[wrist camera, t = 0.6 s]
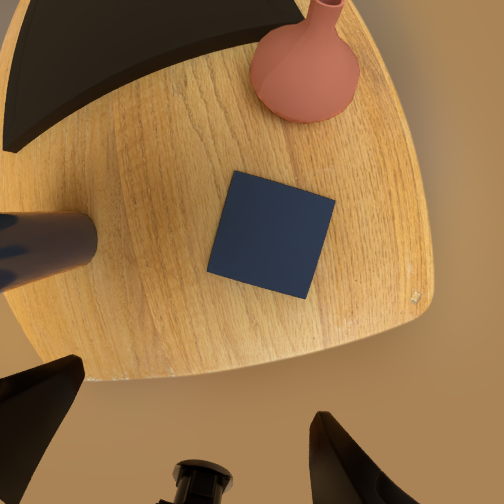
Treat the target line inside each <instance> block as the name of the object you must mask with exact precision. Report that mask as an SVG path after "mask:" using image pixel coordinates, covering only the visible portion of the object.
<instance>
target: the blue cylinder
mask: <svg viewBox="0 0 504 504" xmlns="http://www.w3.org/2000/svg"><path fill="white" fill-rule="evenodd" d="M96 248H97V233H96V229H95V226H94V224H93V222H92V221H91V219H90V218H89V217H88V216H87V215H86V214H84V213H82V212H79V211H33V212H0V293H3V292H6V291H9V290H12V289H15V288H18V287H20V286H23V285H26V284H29V283H32V282H35V281H38V280H42V279H45V278H48V277H51V276H54V275H57V274H60V273H63V272H67V271H70V270H73V269H76V268H79V267H83V266H85V265H87V264H88V263H89V262H90V261H91V260H92V258H93V256H94V254H95V252H96Z"/></svg>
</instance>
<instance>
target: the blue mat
mask: <svg viewBox="0 0 504 504" xmlns="http://www.w3.org/2000/svg"><path fill="white" fill-rule="evenodd" d="M334 205H335V200H332V199H329V198H326V197H323V196H320V195H317V194H314V193H311V192H307V191H304V190H301V189H298V188H295V187H291V186H288V185H285V184H281V183H278V182H274V181H271V180H268V179H264V178H260V177H257V176H253V175H250V174H246V173H242V172H238V171H234V174H233V178H232V181H231V184H230V188H229V191H228V195H227V198H226V202H225V205H224V209H223V212H222V216H221V219H220V223H219V227H218V230H217V234H216V238H215V241H214V245H213V249H212V253H211V256H210V260H209V264H208V268H207V272H209V273H213V274H216V275H220V276H223V277H226V278H230V279H233V280H237V281H240V282H244V283H247V284H251V285H254V286H258V287H261V288H265V289H269V290H272V291H276V292H280V293H283V294H287V295H291V296H294V297H298V298H302V299H306V297H307V294H308V291H309V288H310V285H311V282H312V279H313V275H314V272H315V269H316V266H317V263H318V260H319V256H320V253H321V250H322V247H323V243H324V240H325V237H326V233H327V230H328V226H329V223H330V219H331V216H332V212H333V209H334Z"/></svg>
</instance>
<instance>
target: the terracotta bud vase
mask: <svg viewBox="0 0 504 504" xmlns="http://www.w3.org/2000/svg"><path fill="white" fill-rule="evenodd" d="M344 2H345V1H344V0H311V1H310V5H309V10H308V14H307V18H306V19H304V20H303V21H301V22H300V23H298V24H293V25H285V26H282V27H279V28H277V29H274V30H271V31H270V32H269V33H268V34H267V35H266V36H264V37H263V38H262V39H261V40H260V42H259V44H258V47H257V49H256V51H255V54H254V57H253V60H252V63H251V66H250V77H251V84H252V86H253V88H254V90H255V92H256V94H257V96H258V97H259V99H260V100H261V101H262V102H263V103H264V104H265V105H266V106H267V107H268V108H269V109H270V110H271V111H272V112H273V113H274V114H275V115H277V116H279V117H281V118H284V119H286V120H288V121H291V122H297V123H303V124H306V123H313V122H319V121H323V120H328V119H330V118H332V117H334V116H336V115H338V114H340V113H342V112H343V111H344V110H345V109H346V108H347V106H348V105H349V104H350V103H351V101H352V100H353V97H354V94H355V90H356V87H357V83H358V79H359V74H360V69H359V65H358V60H357V57H356V56H355V54H354V53H353V51H352V50H351V48H350V47H349V45H348V44H347V43H345V42H344V41H343V40H342V39H341V38H339V36H338V33H337V31H336V29H335V25H336V22H337V20H338V17H339V15H340V13H341V10H342V8H343V6H344Z"/></svg>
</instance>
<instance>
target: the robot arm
mask: <svg viewBox="0 0 504 504" xmlns="http://www.w3.org/2000/svg"><path fill="white" fill-rule="evenodd" d="M84 377H85V371H84V366H83V362H82V359H81V358H80V357H78V356H76V355H73V354H72V355H69V356H66V357H63V358H60V359H57V360H54V361H52V362H49V363H46V364H43V365H40V366H37V367H35V368H32V369H28V370H26V371H22V372H20V373H16V374H14V375H10V376H8V377H5V378H1V379H0V499H1V500H2V501H3V502H4V503H5V504H19V503H20V501H21V499H22V497H23V494H24V492H25V490H26V488H27V486H28V484H29V482H30V480H31V477H32V475H33V473H34V472H35V469H36V468H37V466H38V464H39V462H40V460H41V458H42V456H43V454H44V452H45V450H46V449H47V447H48V445H49V443H50V442H51V440H52V438H53V436H54V434H55V433H56V431H57V429H58V428H59V426H60V424H61V422H62V421H63V419H64V417H65V415H66V414H67V412H68V411H69V409H70V407H71V405H72V403H73V401H74V399H75V397H76V395H77V392H78V390H79V388H80V386H81V384H82V382H83V380H84ZM309 437H310V438H309V469H310V479H311V489H312V499H313V504H419V503H418V502H417V501H415V500H414V499H413V498H411V497H410V496H409V495H408V494H406V493H405V492H404V491H403V490H401V489H400V488H399V487H398V486H397V485H396V484H394V482H393V481H392V480H390V479H389V477H388V476H386V474H385V473H384V472H383V471H381V469H380V468H379V467H378V466H377V465H376V464H375V463H374V462H373V461H372V459H371V458H370V457H369V456H368V455H367V454H366V453H365V452H364V451H363V450H362V449H361V447H360V446H359V445H358V444H357V443H356V442H355V441H354V440H353V439H352V437H351V436H350V435H349V434H348V433H347V432H346V431H345V430H344V428H343V427H342V426H341V425H340V424H339V423H338V422H337V420H336V419H335V418H334V417H333V416H332V415H331V413H329V412H327V411H318V412H317V413H316V415H315V417H314V419H313V421H312V423H311V425H310V435H309ZM229 481H230V476H229V475H225V474H220V473H216V472H211V471H207V470H203V469H199V468H196V467H192V466H188V465H185V464H181V466H180V470H179V474H178V478H177V482H176V487H178V489H177V492H176V496H175V499H174V502H173V503H171V502H167V501H165V500H162V499H161V500H160V501H159V503H156V504H221V498H222V494H223V493H224V491H225V489H226V487H227V485H228V483H229Z"/></svg>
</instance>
